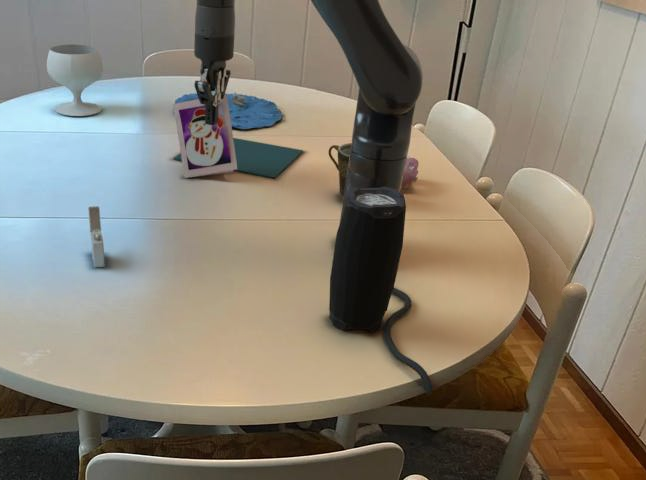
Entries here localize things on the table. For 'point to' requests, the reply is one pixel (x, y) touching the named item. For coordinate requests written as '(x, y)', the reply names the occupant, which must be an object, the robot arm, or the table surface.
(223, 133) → the greeting card
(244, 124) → the decorative plate
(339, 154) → the ceramic cup
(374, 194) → the portable speaker
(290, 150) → the placemat
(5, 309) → the table surface
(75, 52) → the chalice
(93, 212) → the lighter
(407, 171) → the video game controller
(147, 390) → the table surface
